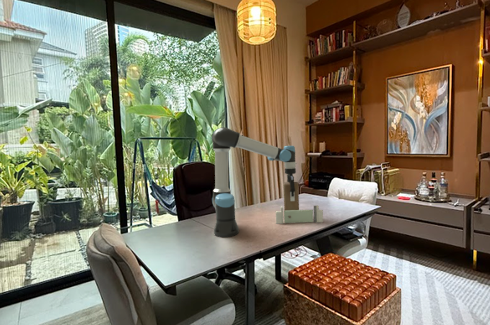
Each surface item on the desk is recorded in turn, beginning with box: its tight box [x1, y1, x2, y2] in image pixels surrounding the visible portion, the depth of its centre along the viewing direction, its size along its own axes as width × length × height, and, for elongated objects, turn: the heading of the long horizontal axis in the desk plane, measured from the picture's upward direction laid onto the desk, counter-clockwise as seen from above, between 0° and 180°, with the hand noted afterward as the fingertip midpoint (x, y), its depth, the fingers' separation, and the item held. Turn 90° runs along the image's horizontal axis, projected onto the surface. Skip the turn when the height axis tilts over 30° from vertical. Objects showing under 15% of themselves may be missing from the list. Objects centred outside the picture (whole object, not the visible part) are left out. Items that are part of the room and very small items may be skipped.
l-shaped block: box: [275, 205, 324, 225], centre depth 176 cm, size 31×2×11 cm, turn 89°
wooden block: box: [282, 181, 300, 212], centre depth 185 cm, size 10×10×20 cm
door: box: [283, 209, 314, 224], centre depth 175 cm, size 19×3×8 cm, turn 89°
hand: (291, 199), depth 185 cm, fingers closed on wooden block, 11 cm apart
